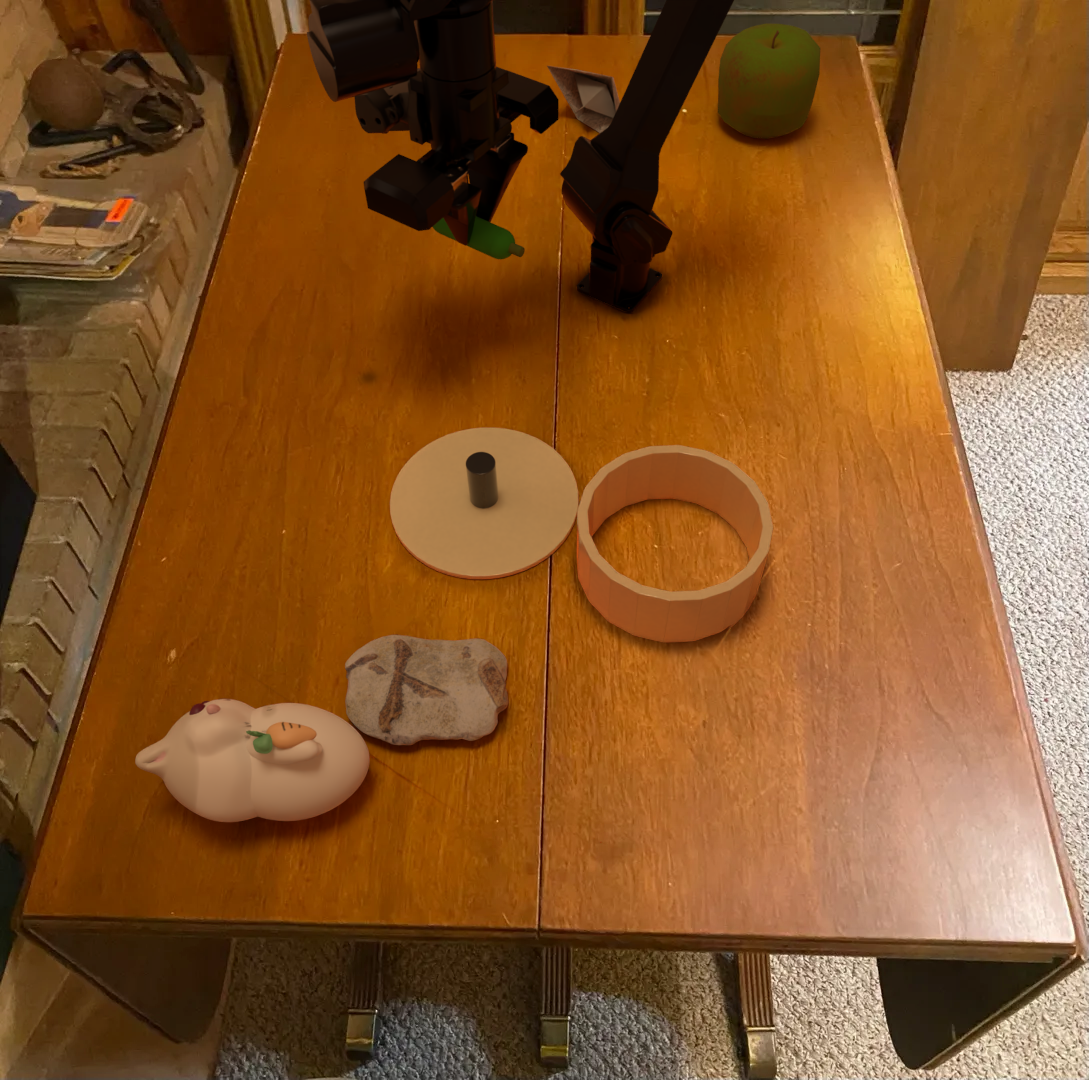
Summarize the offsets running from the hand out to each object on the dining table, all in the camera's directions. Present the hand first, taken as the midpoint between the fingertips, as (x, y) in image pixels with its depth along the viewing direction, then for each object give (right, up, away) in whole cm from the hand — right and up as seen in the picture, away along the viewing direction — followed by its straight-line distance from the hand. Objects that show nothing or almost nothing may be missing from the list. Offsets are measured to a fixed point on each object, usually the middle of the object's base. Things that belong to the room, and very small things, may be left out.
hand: (473, 234), depth 89 cm
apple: (+31, +22, +30) cm, 48 cm away
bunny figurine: (-13, -44, -16) cm, 49 cm away
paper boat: (+11, +22, +30) cm, 39 cm away
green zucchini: (0, -1, +1) cm, 1 cm away
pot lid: (+1, -23, -3) cm, 24 cm away
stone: (-2, -39, -13) cm, 41 cm away
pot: (+16, -29, -7) cm, 34 cm away
